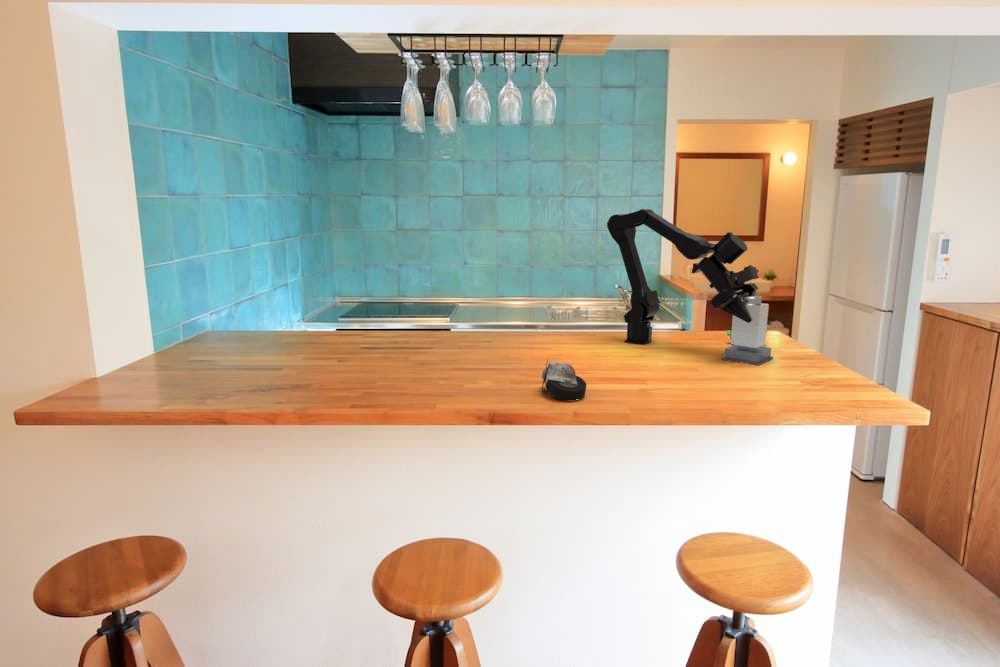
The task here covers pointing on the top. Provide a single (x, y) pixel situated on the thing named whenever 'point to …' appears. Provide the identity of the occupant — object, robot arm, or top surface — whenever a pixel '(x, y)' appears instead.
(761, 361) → the stand
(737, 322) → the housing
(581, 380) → the caster wheel
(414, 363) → the top surface
